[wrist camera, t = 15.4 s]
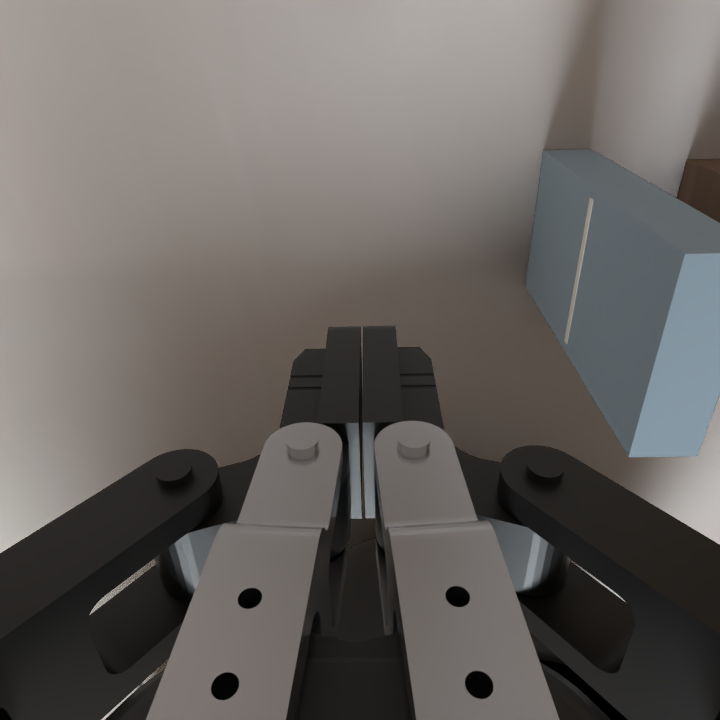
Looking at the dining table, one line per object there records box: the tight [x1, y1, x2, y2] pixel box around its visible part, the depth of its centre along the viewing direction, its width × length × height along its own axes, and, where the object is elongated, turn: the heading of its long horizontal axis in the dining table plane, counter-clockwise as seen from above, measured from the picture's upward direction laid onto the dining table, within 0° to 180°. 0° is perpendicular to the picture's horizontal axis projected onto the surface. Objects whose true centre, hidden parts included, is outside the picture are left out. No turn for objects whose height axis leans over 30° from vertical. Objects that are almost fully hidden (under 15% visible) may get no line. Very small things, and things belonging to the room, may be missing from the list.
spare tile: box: [525, 149, 720, 457], centre depth 16 cm, size 2×5×10 cm, turn 2°
